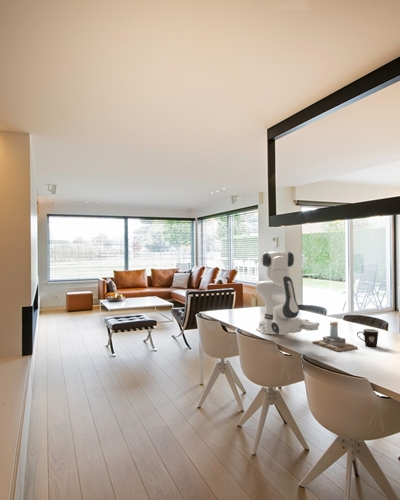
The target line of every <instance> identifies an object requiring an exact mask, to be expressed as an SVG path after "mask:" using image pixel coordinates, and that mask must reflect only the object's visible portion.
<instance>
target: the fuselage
mask: <svg viewBox="0 0 400 500" xmlns="http://www.w3.org/2000/svg"><path fill="white" fill-rule="evenodd" d="M338 324H339V323H338V322H337V321H330V322H329V333H330V334H329V336H330V338H331V339H334V340H335V339H338V337H339V331H338V327H339V326H338Z"/></svg>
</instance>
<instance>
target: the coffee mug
mask: <svg viewBox="0 0 400 500" xmlns="http://www.w3.org/2000/svg"><path fill="white" fill-rule="evenodd" d="M359 334H362V335H363V338H364V339H363V338H361V336H359ZM356 336H357V337H358V338H359V339H360V340H362V341H363V342H364V344H365V346H366V347H367V348H373V349H374V348H378V339H379V330H378V329H375V328H374V329H373V328H365V329H364V328H363V331H358V332H357V333H356Z"/></svg>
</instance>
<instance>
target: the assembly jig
mask: <svg viewBox="0 0 400 500" xmlns="http://www.w3.org/2000/svg"><path fill="white" fill-rule="evenodd" d="M311 342H312V345H313V344H314V345H316V346H320V347H322V348H325V349H328V350H331V351H334V352H337V353H341V352H347V351H353V350H357V349H358V346H355V345H354V344H352V343H348V342H346V338H345V337H341V336H338V339H335V340H334V339H331V338H330V335H327V336H323V337H322V339H320V340H315V341H311Z"/></svg>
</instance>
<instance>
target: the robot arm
mask: <svg viewBox="0 0 400 500" xmlns="http://www.w3.org/2000/svg"><path fill="white" fill-rule="evenodd" d="M260 258H261V259H260V261H261V264H262V266H264V267H266V277H267V278H268V279H269V280H259V281H258V282H257V283H256V284H255V291H256V293H257V294H258V295H259V296H260V297H261V298H262V299H263V301H264V304H265V305H264V306H265V313H264V318H263V319H261V321H259V325H258V327H256V328H255V330H256V331H258V332H260V333H262V334H265V335H288V334H290V333H291V334H296V333H300V332H302V330H305V331H307V332H308V331H309V332H310V331H317V330H319V327H320V322H312V321H310V320H309V319H302V318H299V317H298V315H299V314H300V313H299V312H300V307H299V305H298V302H297V299H296V294H295V293H296V292H295V288H294V283H293V281H292V278H291V276H290V272H289V268H290V267H292V266H293V265H294V263H295V255H294V254H293V252H290V251H283V250H282V251H280V250H278V251H276V250H275V251H264V252H263V253H262V255H261V257H260ZM283 295H284V302H282V303H280V302H279V301H278V300H276V299H275V298H273V296H283Z"/></svg>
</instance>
